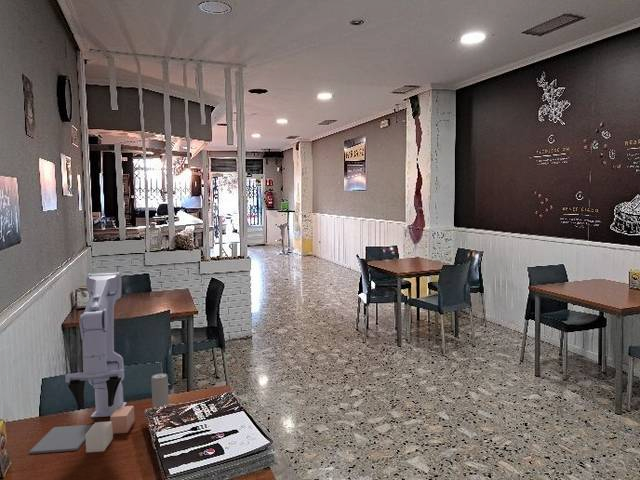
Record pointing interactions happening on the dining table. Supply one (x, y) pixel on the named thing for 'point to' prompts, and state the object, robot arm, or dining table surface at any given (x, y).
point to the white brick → (99, 436)
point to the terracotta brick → (122, 419)
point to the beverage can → (160, 390)
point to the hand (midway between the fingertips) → (96, 407)
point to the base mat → (62, 439)
